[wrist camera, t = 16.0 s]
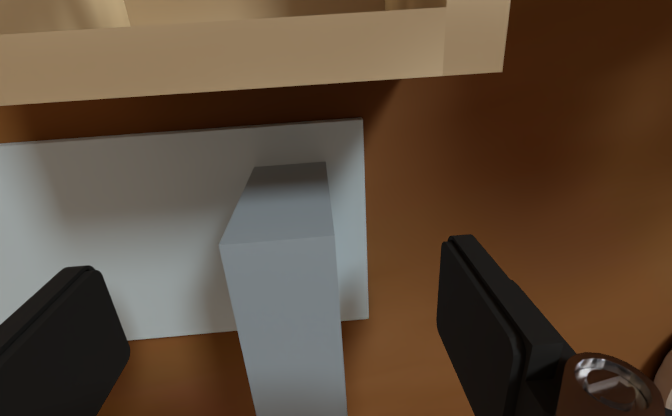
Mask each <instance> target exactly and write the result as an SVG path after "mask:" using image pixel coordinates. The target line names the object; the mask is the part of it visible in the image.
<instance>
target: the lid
mask: <svg viewBox="0 0 672 416" xmlns="http://www.w3.org/2000/svg"><path fill="white" fill-rule="evenodd" d="M86 265H90V266H92V267H94V268H95V270H98V271H100V272H101V273H102V275H103V278H104V280H105V283H106V286H107V288H108V291H109V294H110V296H111V299H112V302H113V304H114V307H115V309H116V312H117V315H118V317H119V320H120V323H121V325H122V328H123V330H124V333H125V336H126V338H127V341H128V340H139V339H150V338H161V337H172V336H183V335H194V334H205V333H216V332H227V331H238V335H239V340H240V344H241V349H242V353H243V358H244V362H245V367H246V371H247V376H248V380H249V385H250V389H251V394H252V398H253V403H254V407H255V412H256V416H347V403H346V389H345V375H344V360H343V346H342V332H341V321H349V320H360V319H369V307H368V274H367V240H366V206H365V173H364V139H363V119H362V118H361V117H359V118H345V119H331V120H317V121H304V122H290V123H276V124H262V125H249V126H235V127H221V128H207V129H194V130H180V131H166V132H152V133H139V134H125V135H111V136H97V137H84V138H70V139H56V140H42V141H29V142H15V143H1V144H0V325H1V324H2V323H3V322H4V321H5V320H6V319H7V318H8V317H9V316H11V315H12V314H13V313H14V312H15V311H16V310H17V309H18V308H19V307H21V306H22V305H23V304H24V303H25V302H26V301H27V300H28V299H29V298H31V297H32V296H33V295H34V294H35V293H36V292H37V291H38V290H39V289H41V288H42V287H43V286H44V285H45V284H46V283H47V282H48V281H49V280H51V279H52V278H53V277H54V276H55V275H56V274H57V273H58V272H59V271H61V270H62V269H63V268H65V267H73V266H86Z"/></svg>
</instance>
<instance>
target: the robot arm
mask: <svg viewBox="0 0 672 416" xmlns="http://www.w3.org/2000/svg"><path fill="white" fill-rule="evenodd" d="M437 328H438V332H439V335H440V337H441V339H442V342H443V344H444V346H445V348H446V351H447V353H448V355H449V357H450V360H451V362H452V364H453V367H454V369H455V371H456V373H457V376H458V378H459V380H460V383H461V385H462V387H463V389H464V392H465V394H466V396H467V399H468V401H469V403H470V405H471V408H472V410H473V412H474V414H475V416H672V349H671V350H670V351H669V352H668V354H667V355H666V356H665V358H664V360H663V362H662V364H661V366H660V368H659V369H658V371H657V373H656V375H655V379H654V382H653V381H652V380H651V379H649V378H648V377H647V376H646V375H645V374H644V373H643V372H641V371H640V370H638V369H637V368H635V367H633V366H632V365H630V364H629V363H627V362H625V361H622V360H620V359H618V358H615V357H613V356H609V355H605V354H601V353H592V352H584V353H579V354H576V353H575V352H574V350H573V349H572V348H571V347H570V346H569V345H568V343H567V342H566V341H565V340H564V339H563V338H562V336H561V335H560V334H559V333H558V332H557V330H556V329H555V328H554V327H553V326H552V325H551V323H550V322H549V321H548V320H547V319H546V318H545V316H544V315H543V314H542V313H541V312H540V311H539V309H538V308H537V307H536V306H535V305H534V304H533V302H532V301H531V300H530V299H529V298H528V297H527V295H526V294H525V293H524V292H523V291H522V290H521V288H520V287H519V286H518V285H517V284H516V283H515V282H514V281H513V280H510V279H509V278H508V276H507V275H506V274H505V273H504V272H503V271H502V269H501V268H500V267H499V266H498V265H497V263H496V262H495V261H494V260H493V259H492V257H491V256H490V255H489V254H488V253H487V252H486V250H485V249H484V248H483V247H482V246H481V244H480V243H479V242H478V241H477V240H476V238H475V237H474V236H473V235H471V234H469V235H456V236H450V237H449V239H448V242H443V243H442V247H441V261H440V275H439V290H438V305H437ZM129 356H130V347H129V344H128V341H127V338H126V336H125V333H124V330H123V328H122V325H121V323H120V320H119V317H118V315H117V312H116V309H115V307H114V304H113V302H112V299H111V296H110V294H109V291H108V288H107V286H106V283H105V280H104V278H103V275H102V273H101V272H100V271H98V270H95V268H94V267H92V266H90V265H86V266H73V267H65V268H63V269H62V270H61V271H59V272H58V273H57V274H56V275H55V276H54V277H53V278H52V279H51V280H49V281H48V282H47V283H46V284H45V285H44V286H43V287H42V288H41V289H39V290H38V291H37V292H36V293H35V294H34V295H33V296H32V297H31V298H29V299H28V300H27V301H26V302H25V303H24V304H23V305H22V306H21V307H19V308H18V309H17V310H16V311H15V312H14V313H13V314H12V315H11V316H9V317H8V318H7V319H6V320H5V321H4V322H3V323H2V324H1V325H0V416H96V415H97V413H98V412H99V410H100V408H101V407H102V405H103V403H104V401H105V400H106V398H107V396H108V395H109V393H110V391H111V389H112V388H113V386H114V384H115V383H116V381H117V379H118V377H119V376H120V374H121V372H122V370H123V369H124V367H125V365H126V364H127V362H128V360H129Z"/></svg>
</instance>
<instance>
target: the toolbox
mask: <svg viewBox="0 0 672 416" xmlns="http://www.w3.org/2000/svg"><path fill="white" fill-rule="evenodd" d="M510 2H511V0H0V106H5V105H20V104H35V103H49V102H64V101H79V100H94V99H109V98H123V97H138V96H153V95H168V94H183V93H198V92H212V91H227V90H242V89H257V88H272V87H286V86H301V85H316V84H331V83H346V82H361V81H375V80H390V79H405V78H420V77H435V76H449V75H464V74H479V73H494V72H502V69H503V61H504V53H505V44H506V36H507V27H508V19H509V11H510Z"/></svg>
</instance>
